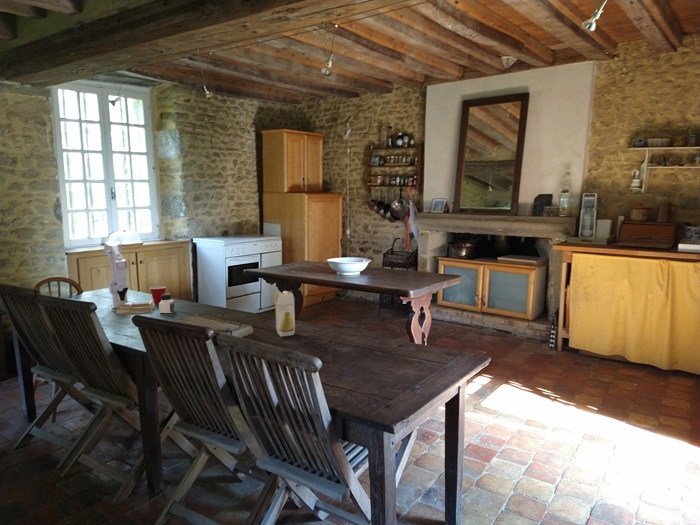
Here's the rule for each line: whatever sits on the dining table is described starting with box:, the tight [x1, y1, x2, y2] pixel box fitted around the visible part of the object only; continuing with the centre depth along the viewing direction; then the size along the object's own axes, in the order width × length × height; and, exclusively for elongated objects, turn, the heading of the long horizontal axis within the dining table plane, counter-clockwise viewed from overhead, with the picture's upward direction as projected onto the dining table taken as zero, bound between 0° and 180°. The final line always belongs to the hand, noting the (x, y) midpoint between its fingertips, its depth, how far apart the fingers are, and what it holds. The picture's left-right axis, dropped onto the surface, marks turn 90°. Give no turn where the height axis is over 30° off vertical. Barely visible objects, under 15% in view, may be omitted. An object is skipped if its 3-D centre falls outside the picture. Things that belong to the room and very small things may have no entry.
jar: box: [118, 291, 129, 304], centre depth 311 cm, size 5×5×7 cm
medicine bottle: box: [158, 293, 175, 314], centre depth 310 cm, size 7×7×12 cm
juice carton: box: [274, 290, 296, 337], centre depth 262 cm, size 9×8×24 cm
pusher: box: [128, 300, 135, 308], centre depth 314 cm, size 9×1×5 cm, turn 16°
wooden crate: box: [115, 299, 154, 316], centre depth 314 cm, size 12×20×6 cm, turn 106°
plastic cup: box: [149, 285, 167, 306], centre depth 333 cm, size 11×11×12 cm
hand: (123, 299), depth 312 cm, fingers closed on jar, 5 cm apart
